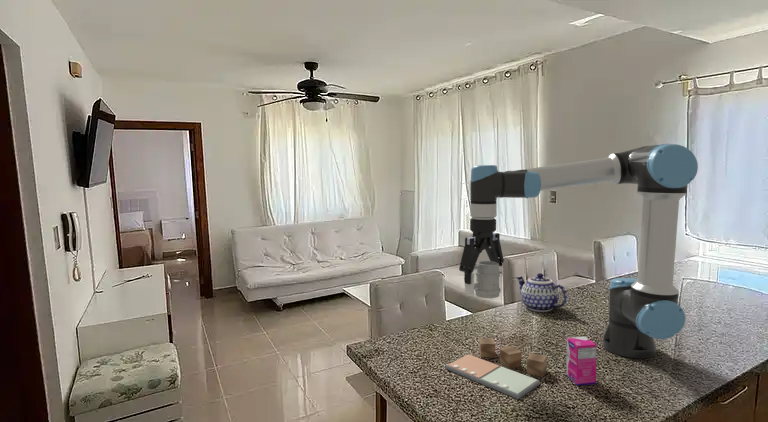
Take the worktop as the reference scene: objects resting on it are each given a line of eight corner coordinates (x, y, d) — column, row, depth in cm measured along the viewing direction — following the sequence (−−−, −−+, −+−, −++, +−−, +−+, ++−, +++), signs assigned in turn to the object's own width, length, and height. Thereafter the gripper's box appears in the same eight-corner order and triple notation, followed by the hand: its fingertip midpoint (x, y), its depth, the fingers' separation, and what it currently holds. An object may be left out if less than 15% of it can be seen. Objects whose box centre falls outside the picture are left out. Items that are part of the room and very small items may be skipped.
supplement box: (565, 375, 122) (566, 337, 121) (585, 374, 123) (586, 335, 121) (576, 386, 116) (576, 345, 115) (597, 384, 117) (598, 344, 116)
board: (539, 384, 118) (539, 379, 118) (518, 399, 111) (518, 394, 110) (468, 357, 136) (468, 353, 136) (445, 368, 128) (445, 364, 128)
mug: (505, 297, 127) (506, 257, 126) (472, 302, 123) (472, 260, 121) (490, 290, 134) (491, 252, 133) (457, 294, 130) (458, 255, 128)
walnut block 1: (493, 351, 139) (493, 338, 139) (495, 357, 135) (495, 344, 134) (479, 351, 140) (479, 338, 140) (480, 357, 136) (480, 343, 135)
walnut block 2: (521, 366, 129) (521, 351, 128) (509, 369, 127) (509, 354, 127) (511, 360, 133) (511, 346, 133) (499, 362, 131) (499, 348, 131)
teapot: (577, 313, 173) (578, 277, 172) (552, 320, 166) (553, 283, 164) (528, 297, 195) (529, 265, 193) (504, 303, 187) (504, 270, 186)
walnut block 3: (546, 370, 126) (546, 356, 125) (542, 377, 122) (543, 362, 121) (530, 367, 128) (531, 352, 128) (526, 373, 124) (526, 358, 124)
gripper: (495, 213, 136) (494, 280, 139) (446, 220, 121) (446, 295, 123) (516, 215, 131) (515, 285, 133) (468, 222, 115) (467, 301, 118)
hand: (481, 290), depth 128 cm, fingers closed on mug, 11 cm apart
